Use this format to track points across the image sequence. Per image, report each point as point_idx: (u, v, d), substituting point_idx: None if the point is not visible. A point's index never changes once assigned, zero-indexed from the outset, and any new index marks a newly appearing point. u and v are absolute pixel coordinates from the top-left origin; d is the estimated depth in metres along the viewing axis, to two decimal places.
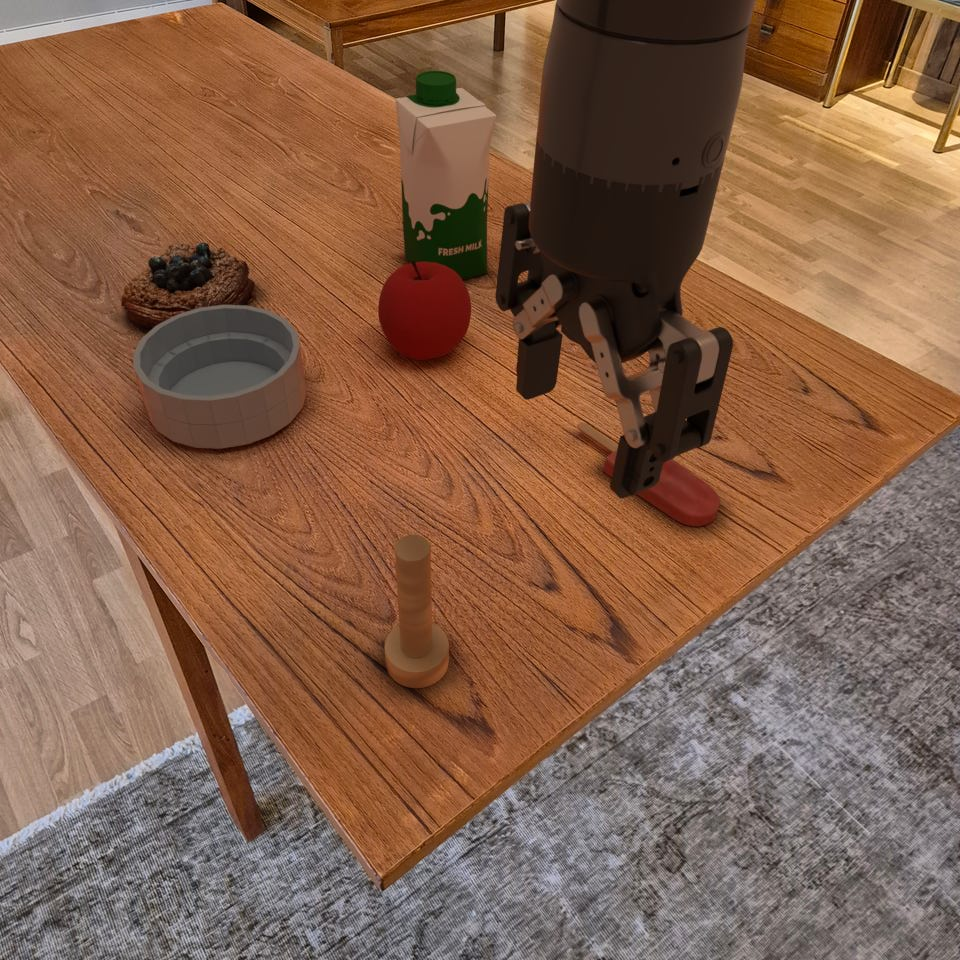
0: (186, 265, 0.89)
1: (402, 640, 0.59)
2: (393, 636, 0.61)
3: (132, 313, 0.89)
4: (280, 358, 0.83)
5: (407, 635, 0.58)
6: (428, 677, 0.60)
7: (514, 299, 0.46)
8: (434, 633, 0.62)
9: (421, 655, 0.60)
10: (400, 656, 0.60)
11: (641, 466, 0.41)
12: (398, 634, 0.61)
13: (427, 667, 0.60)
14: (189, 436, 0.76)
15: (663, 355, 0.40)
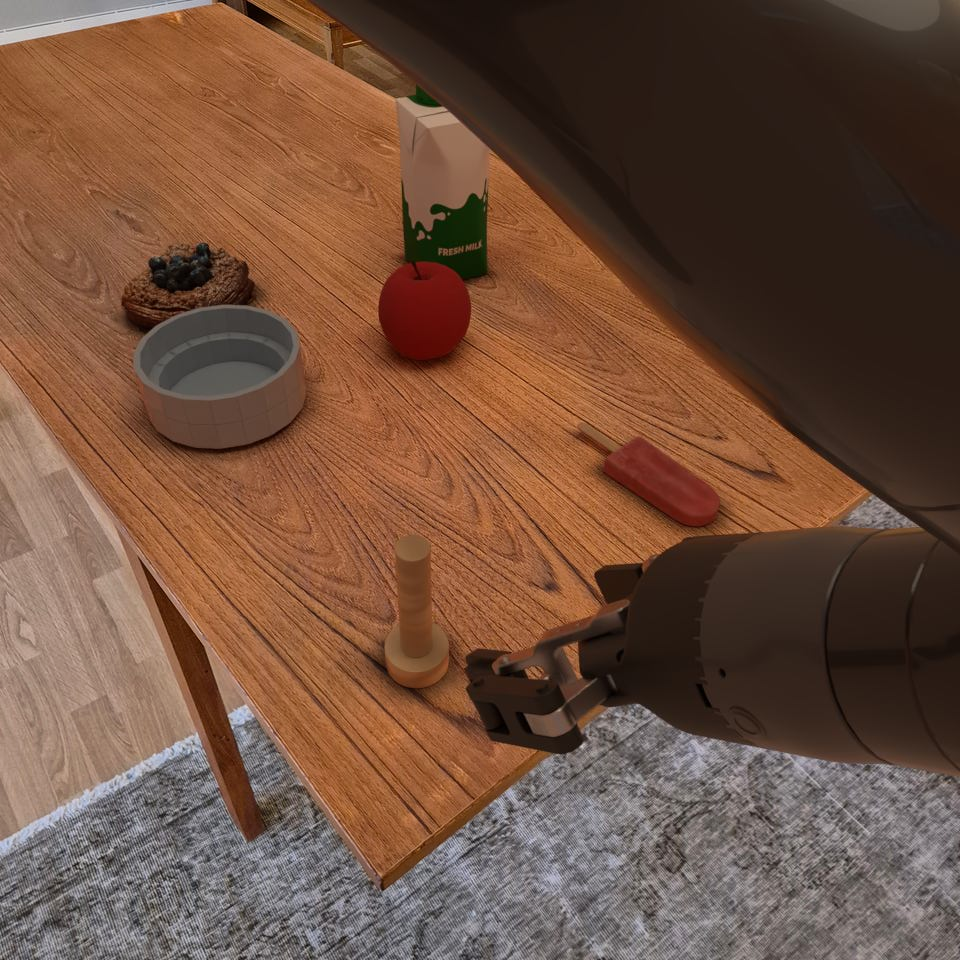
0: (186, 265, 0.89)
1: (402, 640, 0.59)
2: (393, 636, 0.61)
3: (132, 313, 0.89)
4: (280, 358, 0.83)
5: (407, 635, 0.58)
6: (428, 677, 0.60)
7: None
8: (434, 633, 0.62)
9: (421, 655, 0.60)
10: (400, 656, 0.60)
11: (481, 673, 0.40)
12: (398, 634, 0.61)
13: (427, 667, 0.60)
14: (189, 436, 0.76)
15: None
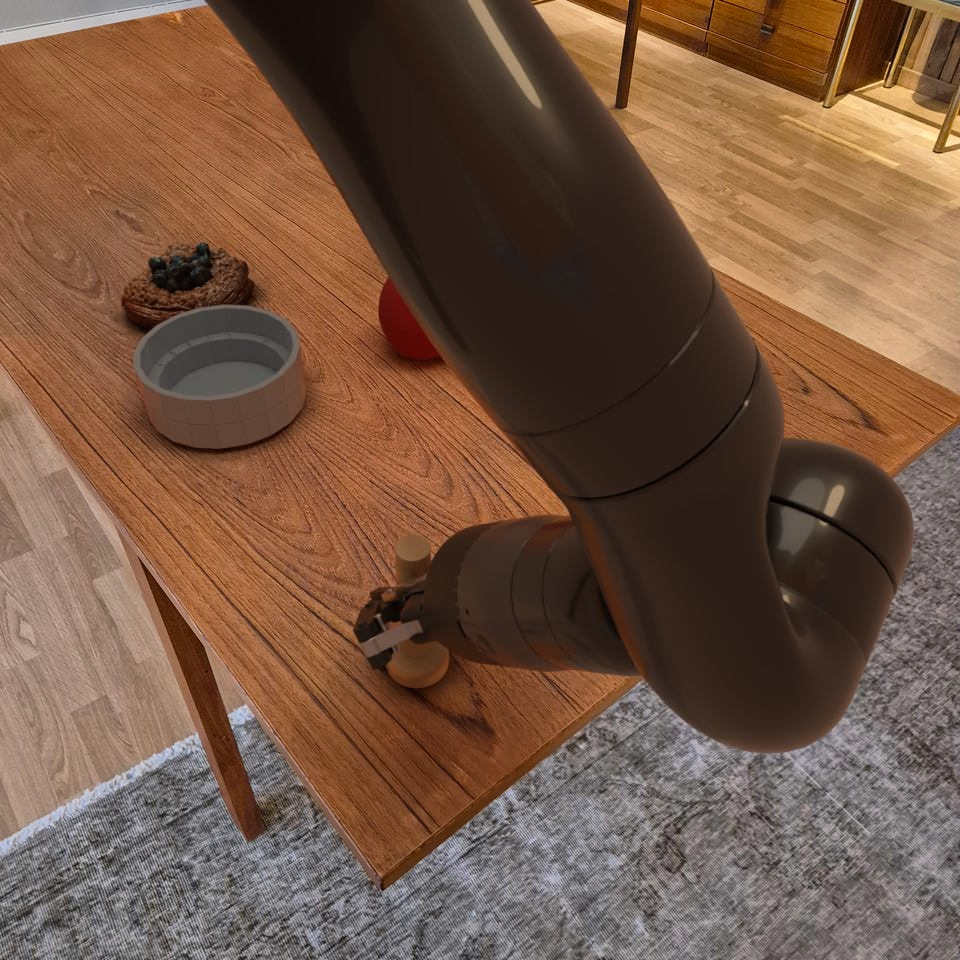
0: (186, 265, 0.89)
1: None
2: None
3: (132, 313, 0.89)
4: (280, 358, 0.83)
5: None
6: (428, 677, 0.60)
7: None
8: None
9: (421, 655, 0.60)
10: (400, 656, 0.60)
11: None
12: None
13: (427, 667, 0.60)
14: (189, 436, 0.76)
15: None
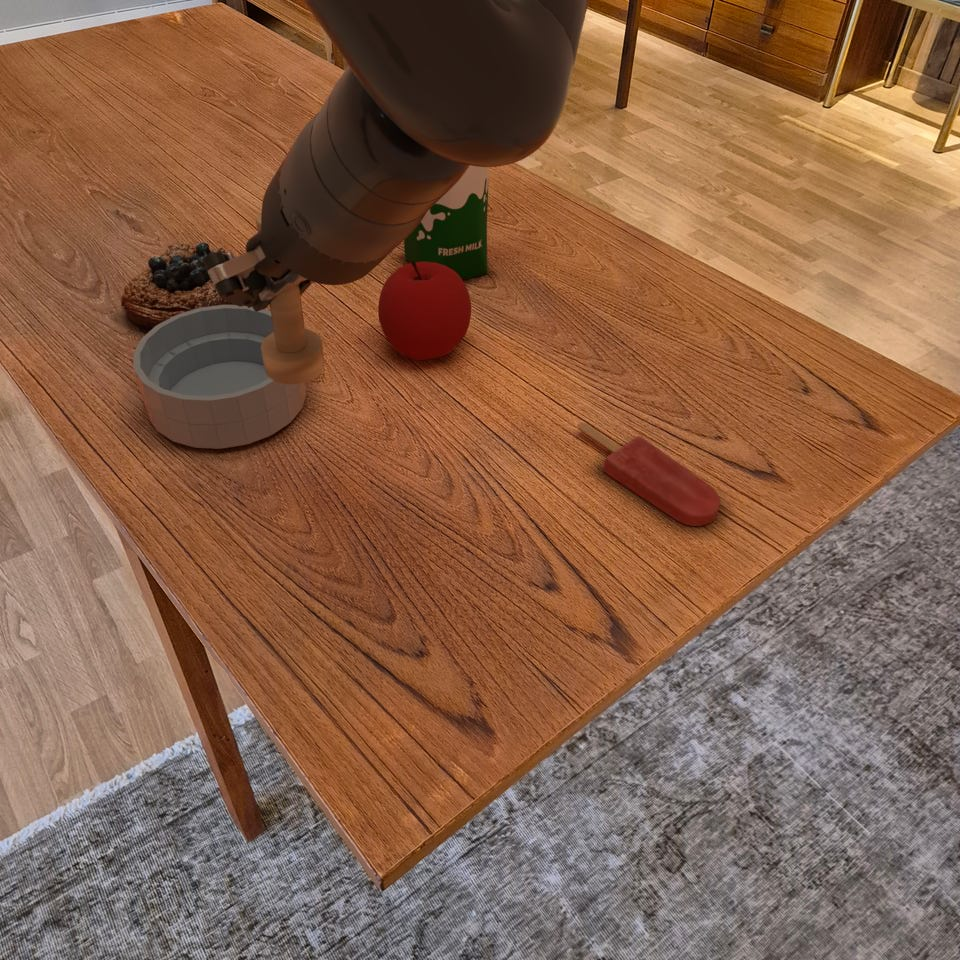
0: (186, 265, 0.89)
1: (275, 333, 0.63)
2: (270, 338, 0.65)
3: (132, 313, 0.89)
4: None
5: (278, 323, 0.62)
6: (300, 371, 0.64)
7: None
8: (309, 337, 0.65)
9: (294, 350, 0.64)
10: (275, 351, 0.64)
11: None
12: None
13: (299, 359, 0.63)
14: (189, 436, 0.76)
15: (280, 282, 0.56)
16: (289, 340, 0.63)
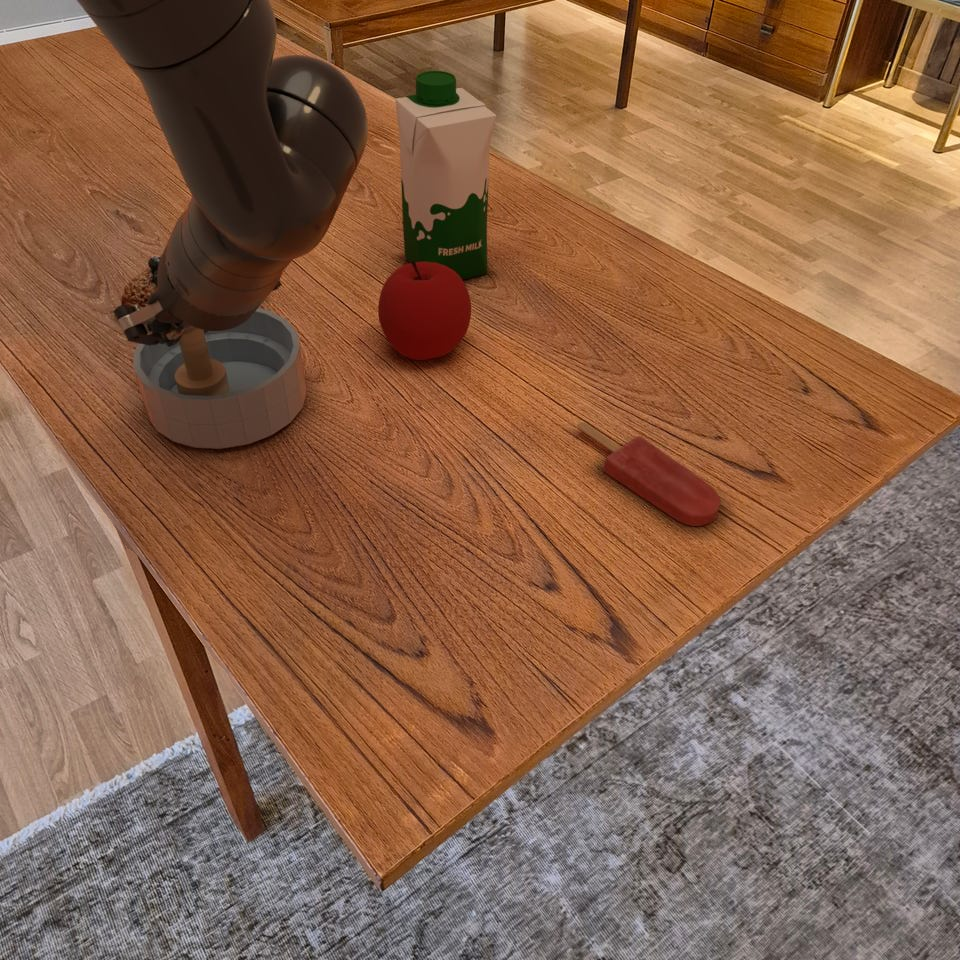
0: None
1: (185, 364, 0.77)
2: (183, 367, 0.79)
3: None
4: (280, 358, 0.83)
5: (186, 356, 0.76)
6: (207, 395, 0.78)
7: None
8: (216, 366, 0.79)
9: (201, 377, 0.77)
10: (185, 379, 0.78)
11: None
12: None
13: (205, 385, 0.77)
14: (189, 436, 0.76)
15: None
16: (196, 370, 0.77)
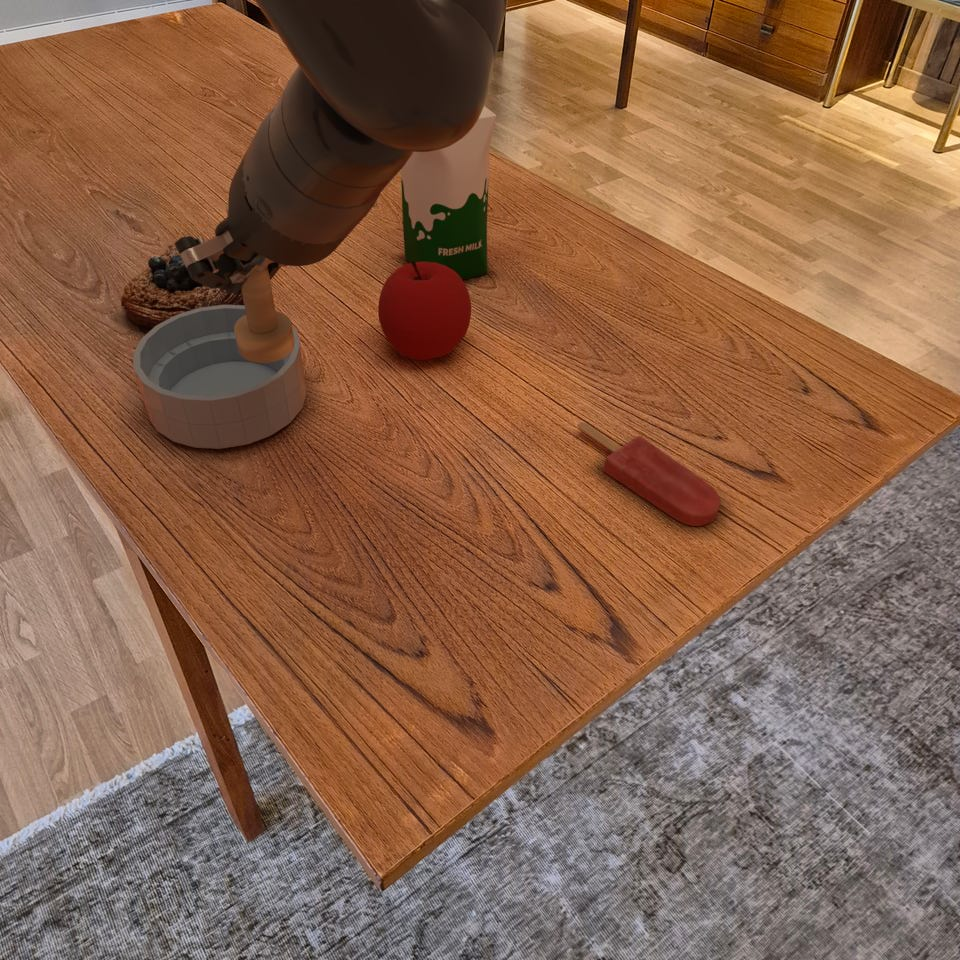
0: None
1: (247, 314, 0.67)
2: (243, 319, 0.69)
3: (132, 313, 0.89)
4: None
5: (249, 305, 0.66)
6: (271, 350, 0.68)
7: None
8: (280, 318, 0.70)
9: (265, 330, 0.68)
10: (247, 332, 0.68)
11: None
12: None
13: (269, 339, 0.68)
14: (189, 436, 0.76)
15: (249, 265, 0.60)
16: (260, 321, 0.67)
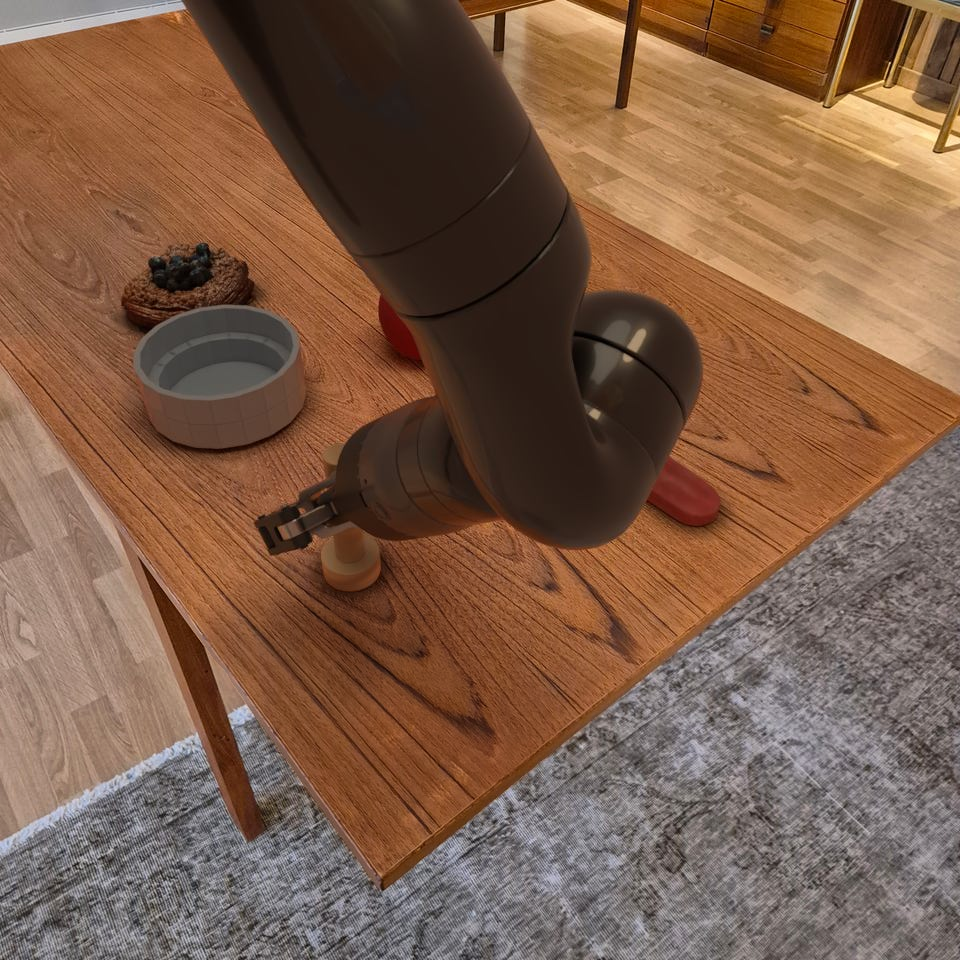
0: (186, 265, 0.89)
1: (335, 546, 0.65)
2: (329, 544, 0.67)
3: (132, 313, 0.89)
4: (280, 358, 0.83)
5: (339, 539, 0.64)
6: (360, 580, 0.66)
7: None
8: (367, 542, 0.68)
9: (353, 560, 0.66)
10: (334, 561, 0.66)
11: None
12: (334, 543, 0.67)
13: (358, 571, 0.65)
14: (189, 436, 0.76)
15: (332, 526, 0.57)
16: (349, 553, 0.65)
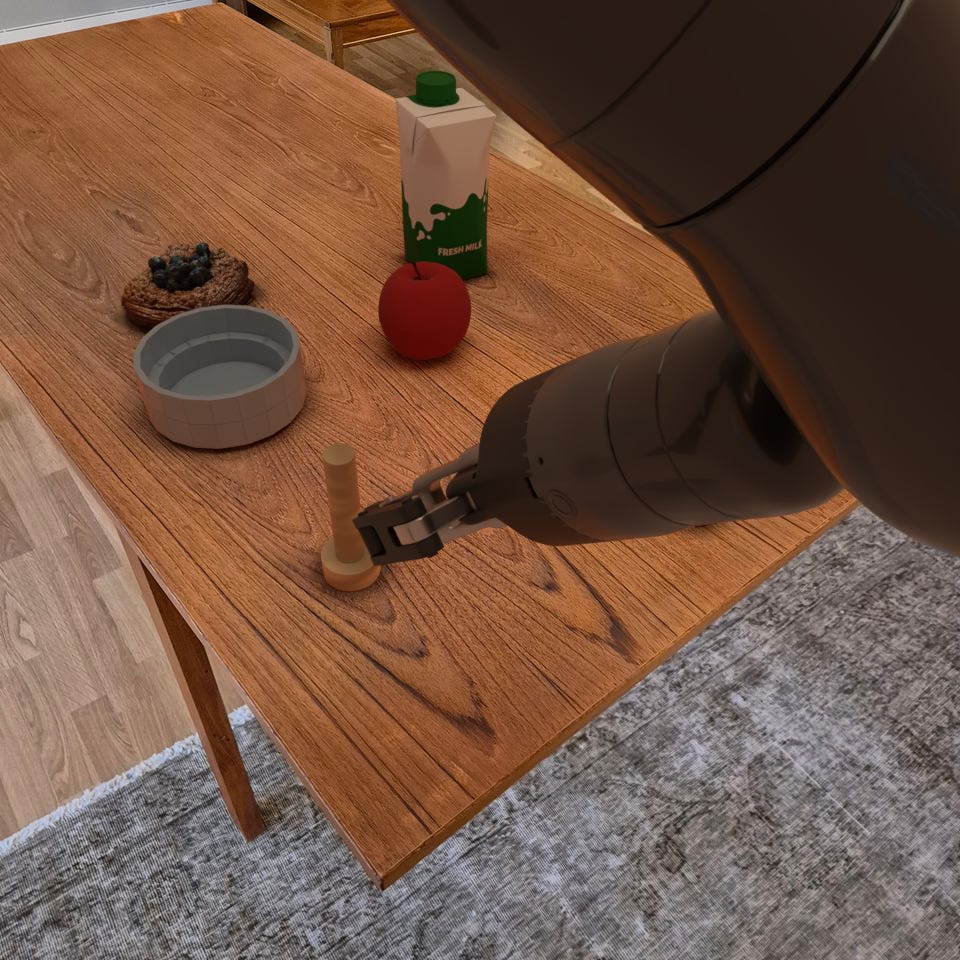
0: (186, 265, 0.89)
1: (335, 546, 0.65)
2: (329, 544, 0.67)
3: (132, 313, 0.89)
4: (280, 358, 0.83)
5: (339, 539, 0.64)
6: (360, 580, 0.66)
7: None
8: None
9: (353, 560, 0.66)
10: (334, 561, 0.66)
11: None
12: (334, 543, 0.67)
13: (358, 571, 0.65)
14: (189, 436, 0.76)
15: (459, 525, 0.42)
16: (349, 553, 0.65)
